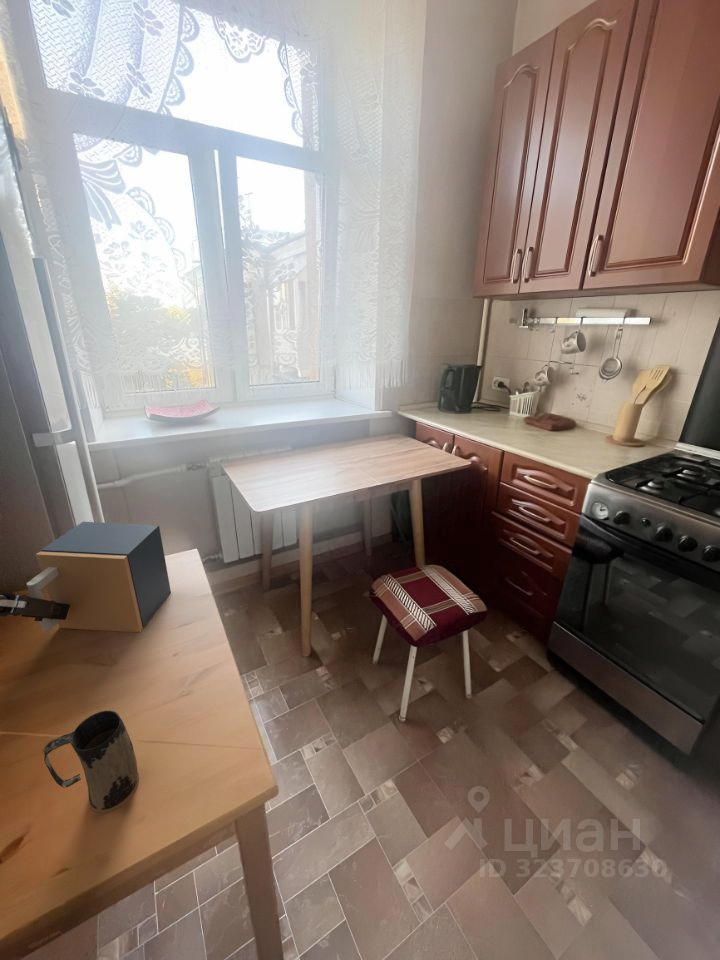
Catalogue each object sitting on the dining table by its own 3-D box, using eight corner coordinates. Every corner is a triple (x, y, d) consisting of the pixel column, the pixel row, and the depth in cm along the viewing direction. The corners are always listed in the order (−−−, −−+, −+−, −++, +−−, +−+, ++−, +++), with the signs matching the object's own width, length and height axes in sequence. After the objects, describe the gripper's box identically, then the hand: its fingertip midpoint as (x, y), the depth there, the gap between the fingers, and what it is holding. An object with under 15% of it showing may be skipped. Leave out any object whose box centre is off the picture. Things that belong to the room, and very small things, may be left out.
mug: (135, 756, 54) (118, 694, 50) (145, 791, 51) (127, 727, 46) (66, 795, 50) (40, 730, 45) (70, 837, 46) (42, 770, 41)
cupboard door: (123, 654, 71) (104, 576, 65) (37, 649, 71) (9, 571, 65) (143, 628, 77) (127, 555, 70) (62, 624, 77) (40, 551, 71)
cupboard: (143, 628, 77) (127, 554, 71) (64, 624, 77) (40, 549, 71) (171, 592, 87) (159, 525, 81) (100, 589, 87) (83, 521, 81)
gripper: (-138, 623, 50) (13, 631, 72) (-26, 630, 50) (92, 635, 71) (-107, 564, 53) (29, 589, 75) (-2, 570, 53) (104, 593, 74)
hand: (59, 611), depth 73 cm, fingers closed on cupboard door, 2 cm apart
